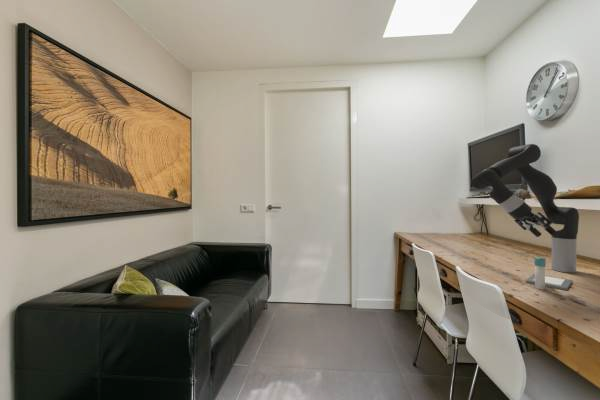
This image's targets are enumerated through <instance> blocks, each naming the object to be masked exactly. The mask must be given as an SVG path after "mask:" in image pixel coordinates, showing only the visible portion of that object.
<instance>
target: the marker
mask: <svg viewBox="0 0 600 400" xmlns="http://www.w3.org/2000/svg"><path fill="white" fill-rule="evenodd" d="M533 260H534V261H533V262H534V263H533V265H534V274H535V284H534V289H536V290H539V291H540V290H541V291H546V286H545V276H546V260H547V259H546V258H545V257H537V256H535V257H534V258H533Z"/></svg>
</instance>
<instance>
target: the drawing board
mask: <svg viewBox="0 0 600 400" xmlns="http://www.w3.org/2000/svg"><path fill="white" fill-rule="evenodd" d="M525 283H527V284H531V285H535V273H533V274H532V275H531V276H529V277H528V278H527V279H525ZM572 284H573V280H572V279H569V278H568V279H567V278H562V277H556V276H551V275H545V288H546V287H547V288H552V289H557V290H562V291H568V289H569V288H570V287H571V285H572Z"/></svg>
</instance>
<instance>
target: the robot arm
mask: <svg viewBox="0 0 600 400" xmlns="http://www.w3.org/2000/svg"><path fill="white" fill-rule="evenodd" d="M541 153H542V152H541V148H540V147H539V146H538V144H534V143H528V144H524V145H519V146H514V147H511V148H510V149H509V150H508V152H507V158H504V159H502V160H499V161H497V162H495V163H494V164H492V165H490V166H489V167H488V168H485V169H483V170H481V171H480V172H479V173H477V174H476V175H474V176H473V177H472V178H471V182H470V183H471V186H472V187H473V189H475V190H485V189H486V188H488V187H490V186H491V188H492V190H491V191H490V192H489V197H490V198H491V199H492V200H493V201H494V202H496V204H498V205H499V207H501V209H502V210H503V211H505V212H506V213H507V214H508V215H509V216H510V217H511V218H512V219H514V222H515V223H516V224H517V225H518V226H519V227H521V229H522V230H524V231H527V232H531V234H533V235H534V236H535V237H536V238H540V236H542V232H540V231H539V230H538V229H537V228H536V227H540V228H542V229H544V230H545V231H546V232H547V233H548V234H549V235H551V259H550V260H551V261H550V262H551V265H550V266H551V268H550V269H551V270H553V271H556V272H561V273H568V274H569V273H570V274H575V273H577V236H578V233H579V222H580V214H579V211H578V209H577V208H576V207H569V206H568V207H567V206H566V207H565V206H557V205H556V204H555V201H554V199H555V197H556V194H557V191H558V189H557V185H556V184H555V182H554V180H553V179H552V177H551V176H549V175H548V174H547V173H545V172H543V171H541V170H538V169H537V168H535V167H533V166H532V165H531V164H534V163H536V162H537V161H538V160H539V159H540V158H541ZM516 170H517V172H518V173H519V174H520V175H521V177H522V178H523V180H524V181H525V183H526V185H527V186H528V187H529V189H530V191H531V193H533V195H534V196H535V197H536V199H537V201H538V203H539V204H540V207H541V208H542V210H543V213H544V214H545V215H543V214H542V213H541V212H537V213H534V212H533V209H532V207H531V206H530V205H529V204H527V203H526V202H525V201H524V199H522V198H521V197H519V196H518V195H517V194H515V193H514V192H513V191H512V190H511V189H509V188H508V187H507V185H506V184H505V183H504V181H503V180H502V178H505V176H508V175H509V174H511V173H512V172H514V171H516ZM552 224H553V225H562V226H563V228H562V229H558V230H556V229H555V228H553V227H552V226H551V225H552ZM534 226H535V227H534Z"/></svg>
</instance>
